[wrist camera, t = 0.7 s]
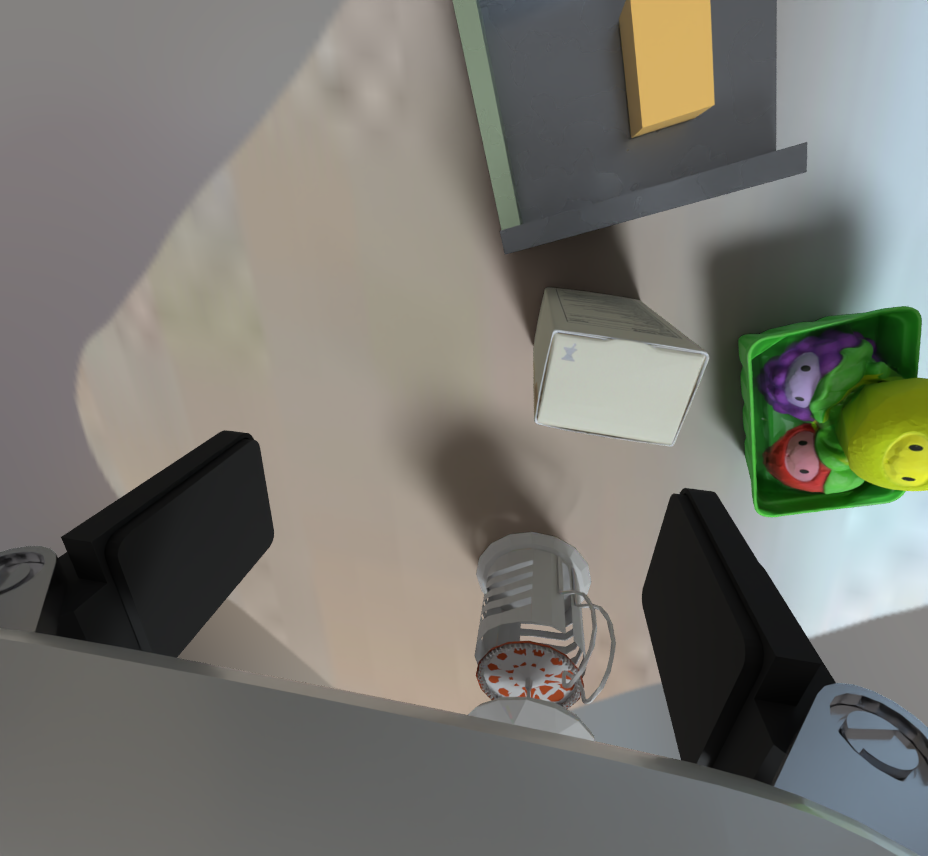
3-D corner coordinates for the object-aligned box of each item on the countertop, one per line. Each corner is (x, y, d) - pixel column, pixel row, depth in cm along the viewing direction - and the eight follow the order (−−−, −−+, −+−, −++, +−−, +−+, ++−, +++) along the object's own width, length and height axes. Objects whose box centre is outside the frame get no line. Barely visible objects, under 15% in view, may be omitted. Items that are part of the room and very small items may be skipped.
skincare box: (532, 350, 30) (524, 425, 19) (544, 284, 28) (544, 326, 17) (628, 366, 30) (676, 452, 19) (647, 299, 28) (714, 353, 17)
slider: (687, -8, 20) (708, -42, 18) (694, 118, 22) (714, 104, 20) (618, 18, 21) (629, -10, 19) (631, 138, 23) (642, 127, 20)
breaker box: (761, -131, 20) (816, -220, 16) (763, 179, 24) (806, 171, 20) (458, 0, 23) (440, -46, 19) (510, 249, 28) (504, 254, 24)
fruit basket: (713, 321, 28) (808, 380, 18) (883, 281, 25) (1105, 323, 15) (725, 476, 32) (808, 596, 22) (872, 455, 30) (1041, 577, 19)
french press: (453, 572, 40) (337, 1024, 18) (548, 498, 35) (553, 992, 13) (532, 635, 42) (518, 1120, 19) (633, 572, 37) (770, 1125, 14)
